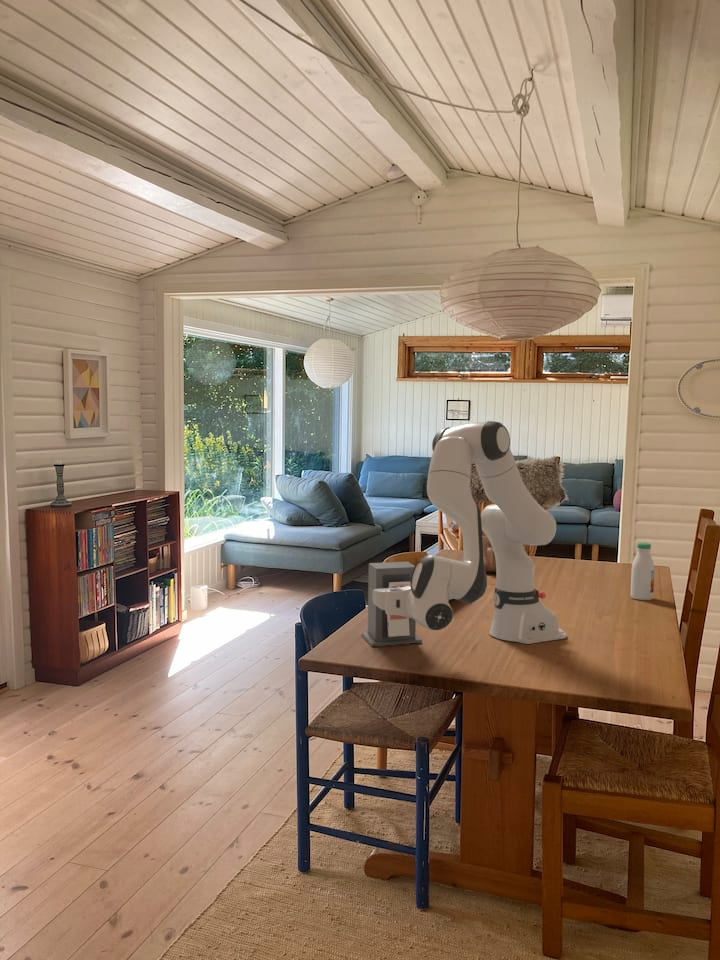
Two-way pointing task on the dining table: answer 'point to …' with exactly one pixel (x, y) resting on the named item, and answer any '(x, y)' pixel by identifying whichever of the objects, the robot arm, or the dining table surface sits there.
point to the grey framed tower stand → (377, 617)
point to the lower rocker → (398, 626)
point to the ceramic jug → (488, 556)
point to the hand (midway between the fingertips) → (401, 589)
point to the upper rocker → (398, 584)
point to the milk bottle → (642, 574)
